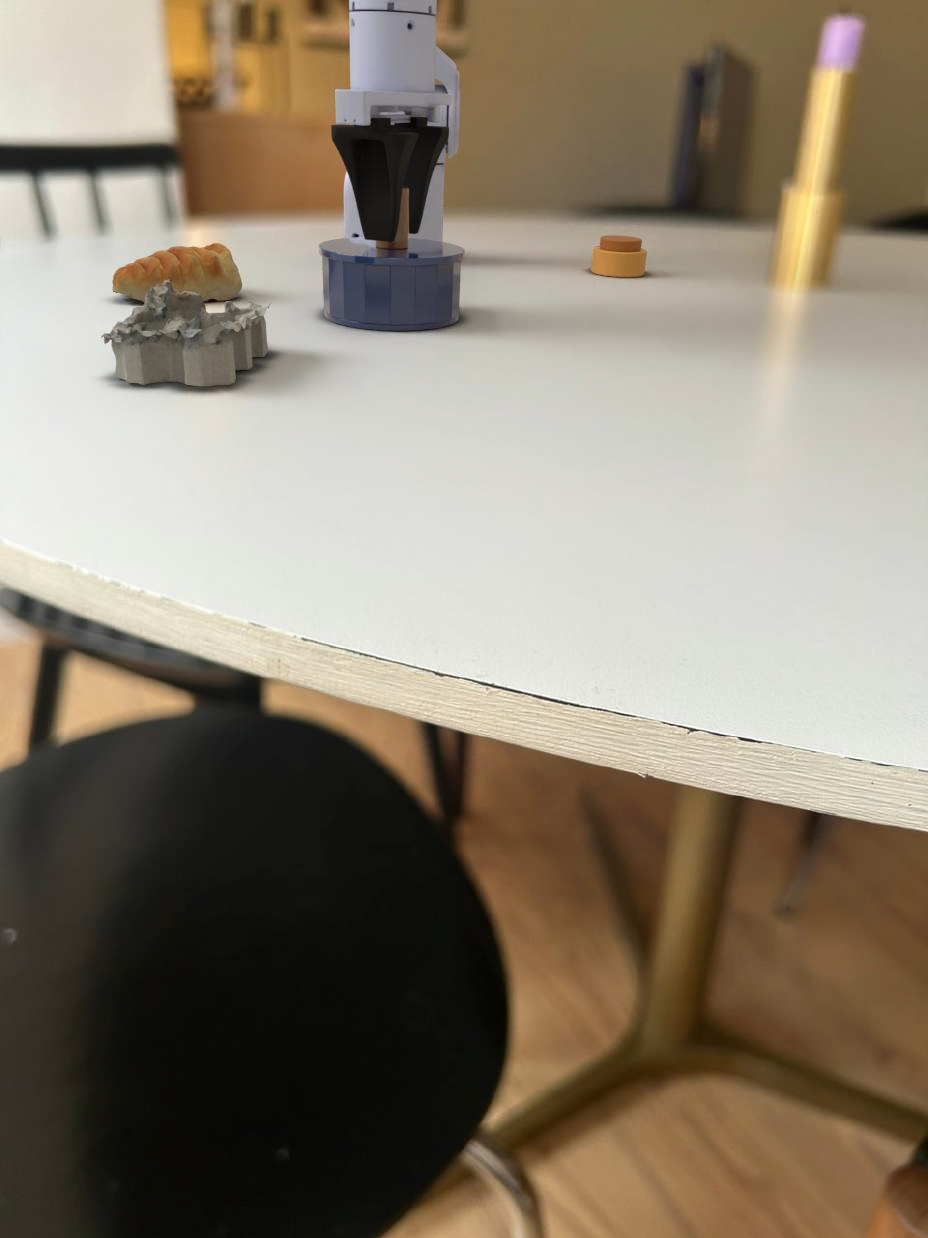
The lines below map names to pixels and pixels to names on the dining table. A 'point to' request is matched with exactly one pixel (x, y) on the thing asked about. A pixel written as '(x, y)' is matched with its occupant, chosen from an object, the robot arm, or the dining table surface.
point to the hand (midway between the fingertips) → (392, 236)
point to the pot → (391, 295)
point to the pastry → (182, 273)
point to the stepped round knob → (619, 257)
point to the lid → (393, 247)
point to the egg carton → (186, 340)
